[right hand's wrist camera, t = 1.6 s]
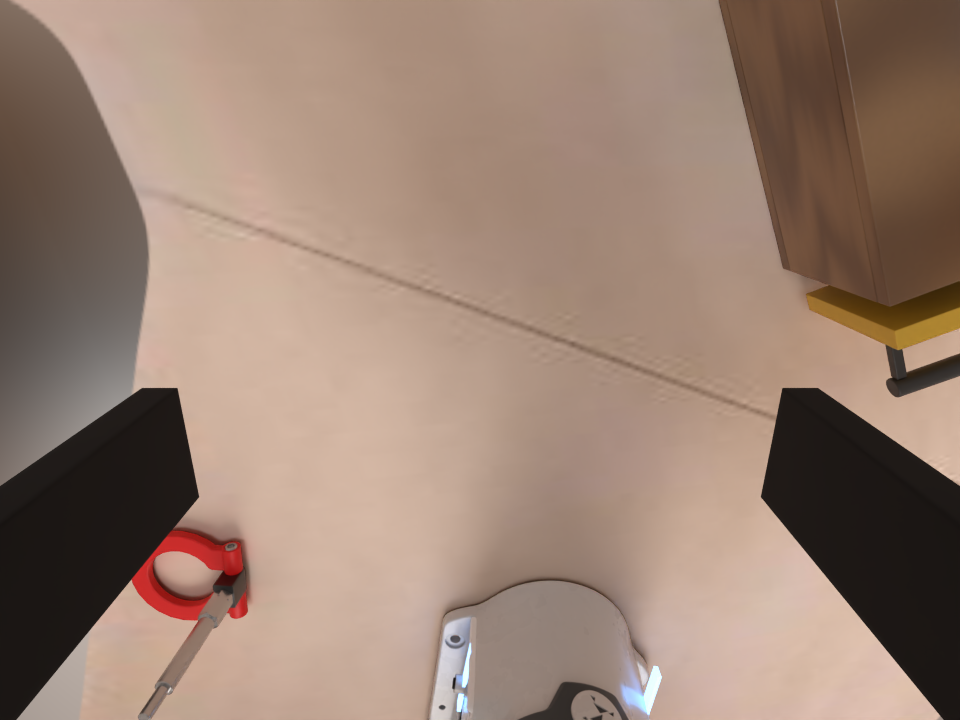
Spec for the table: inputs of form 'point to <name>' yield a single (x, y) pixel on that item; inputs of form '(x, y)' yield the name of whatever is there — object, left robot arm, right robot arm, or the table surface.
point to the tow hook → (193, 602)
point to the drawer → (898, 329)
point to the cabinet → (856, 137)
